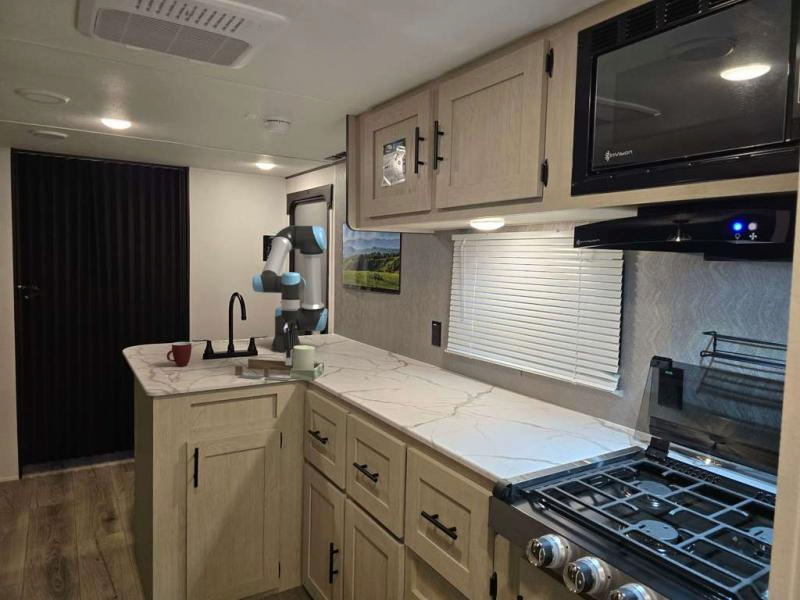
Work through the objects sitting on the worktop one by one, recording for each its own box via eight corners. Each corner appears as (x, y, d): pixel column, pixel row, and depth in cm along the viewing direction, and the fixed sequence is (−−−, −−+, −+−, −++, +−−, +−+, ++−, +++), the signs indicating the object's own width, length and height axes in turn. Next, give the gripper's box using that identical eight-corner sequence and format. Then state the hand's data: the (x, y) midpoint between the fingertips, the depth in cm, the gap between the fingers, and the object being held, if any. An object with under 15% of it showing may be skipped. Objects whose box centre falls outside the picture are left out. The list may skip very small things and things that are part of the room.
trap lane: (249, 367, 237) (249, 358, 237) (323, 372, 232) (323, 363, 232) (235, 375, 223) (235, 365, 223) (314, 380, 219) (314, 370, 218)
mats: (241, 375, 223) (241, 374, 223) (290, 378, 220) (290, 378, 220) (237, 377, 219) (237, 377, 219) (287, 381, 216) (287, 380, 216)
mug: (173, 369, 229) (173, 346, 228) (163, 366, 234) (162, 344, 233) (195, 365, 238) (195, 343, 237) (184, 362, 243) (184, 341, 242)
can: (310, 377, 223) (311, 348, 222) (288, 375, 224) (290, 347, 223) (316, 372, 232) (317, 345, 231) (296, 370, 233) (297, 343, 232)
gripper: (287, 307, 231) (285, 361, 233) (275, 310, 218) (274, 367, 220) (303, 308, 230) (302, 362, 232) (293, 311, 217) (292, 368, 219)
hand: (289, 364), depth 226 cm, fingers closed
